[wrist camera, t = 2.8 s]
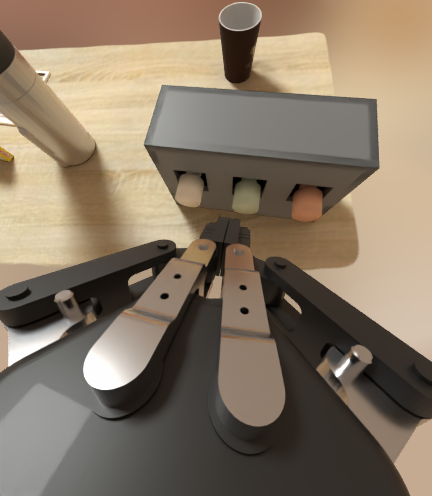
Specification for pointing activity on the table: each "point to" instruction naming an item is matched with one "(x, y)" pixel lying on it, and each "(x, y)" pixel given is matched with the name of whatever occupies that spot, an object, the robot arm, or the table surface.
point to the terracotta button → (307, 203)
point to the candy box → (5, 155)
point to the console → (263, 143)
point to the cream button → (190, 189)
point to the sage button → (246, 196)
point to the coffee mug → (239, 39)
